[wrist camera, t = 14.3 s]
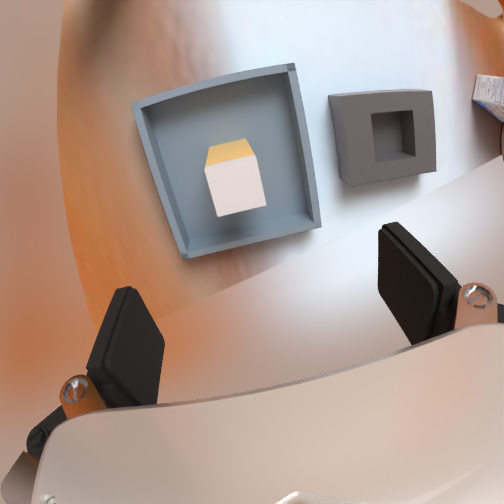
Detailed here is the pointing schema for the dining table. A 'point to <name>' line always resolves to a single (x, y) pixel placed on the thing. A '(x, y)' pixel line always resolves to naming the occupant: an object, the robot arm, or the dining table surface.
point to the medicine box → (490, 95)
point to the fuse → (234, 178)
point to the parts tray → (223, 131)
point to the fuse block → (383, 134)
